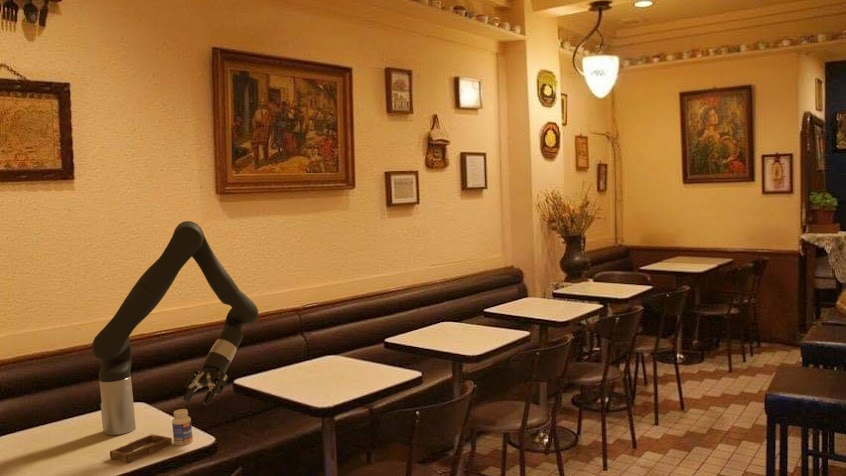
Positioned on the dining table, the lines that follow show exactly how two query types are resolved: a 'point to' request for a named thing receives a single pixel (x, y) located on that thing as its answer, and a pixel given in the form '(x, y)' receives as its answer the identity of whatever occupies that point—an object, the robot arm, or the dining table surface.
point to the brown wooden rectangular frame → (129, 456)
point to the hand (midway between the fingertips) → (195, 402)
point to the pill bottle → (182, 427)
